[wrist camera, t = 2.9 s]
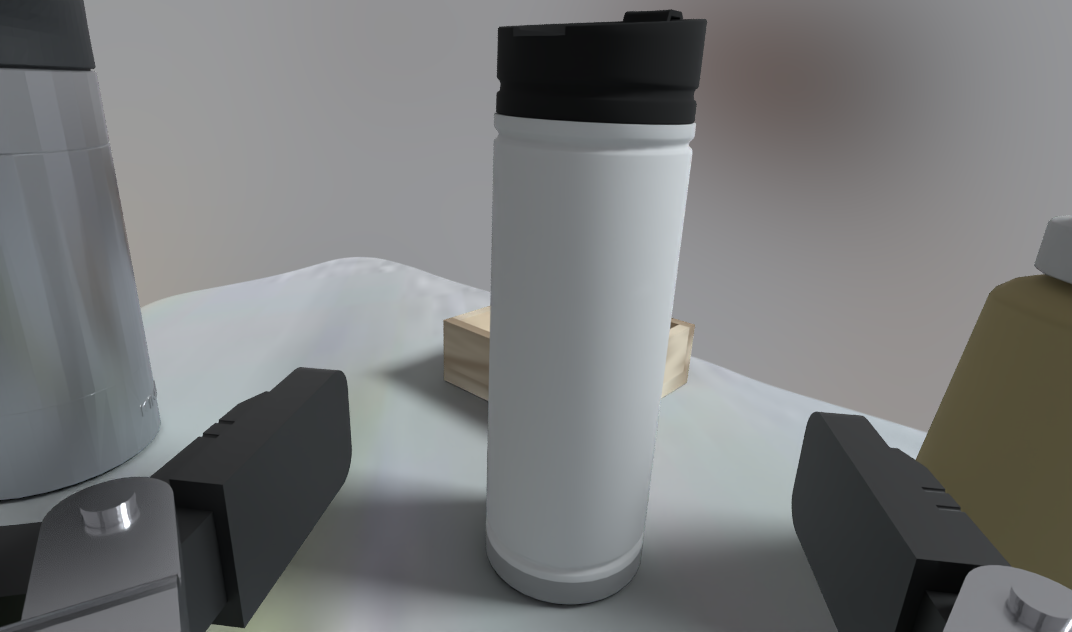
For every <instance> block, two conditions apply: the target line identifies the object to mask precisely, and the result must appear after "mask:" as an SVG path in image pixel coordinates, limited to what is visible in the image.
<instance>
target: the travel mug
mask: <svg viewBox="0 0 1072 632" xmlns="http://www.w3.org/2000/svg"><path fill="white" fill-rule="evenodd" d="M706 25H707V20H706V19H683V16H682V12H679V11H675V10H660V11H638V12H637V11H636V12H635V11H630V12H626V13H625V15H624V19H623V21H621V22H594V23H569V24H544V25H524V26H506V27H505V26H504V27H499V28H498V55H497V56H498V57H497V78H498V79H499V80H500V83H501V86H500V91H498V92H497V99H496V112H497V113H495V114H494V126H495V128H496V130H497V131H498V133H499V135H498V137H497V138H496V139H495V140H494V157H493V205H492V206H493V207H492V254H491V303H490V352H489V400H488V449H487V498H486V511H487V517H486V551H487V556H488V558H489V561H490V563H491V565H492V567H493V568H494V569H495V571H496V572H497V573H498V575H499V576H500V577H501V578H502V579H503V580H504V581H505V582H506V583H508V584H509V585H510V586H511V587H513V588H514V589H516V590H518V591H519V592H521V593H523V594H525V595H527V596H530V597H533V598H535V599H538V600H541V601H546V602H551V603H555V604H583V603H590V602H594V601H597V600H601V599H604V598H606V597H608V596H610V595H613V594H615V593H616V592H618V591H619V590H620V589H622V588H623V587H624V586H626V585H627V584H628V583H629V582H630V581H631V579H632V578H633V577H634V576H635V574H636V572H637V570H638V568H639V565H640V561H641V553H642V545H643V537H644V529H645V521H646V514H647V506H648V498H649V490H650V482H651V474H652V466H653V458H654V451H655V443H656V435H657V427H658V419H659V411H660V403H661V395H662V388H663V380H664V372H665V364H666V356H667V348H668V340H669V332H670V325H671V317H672V309H673V301H674V293H675V285H676V277H677V269H678V262H679V254H680V246H681V238H682V229H683V221H684V214H685V206H686V198H687V191H688V183H689V175H690V167H691V159H692V149H691V148H690V147H689V145H688V144H689V142H690V141H691V140H692V139H693V138H694V135H695V127H696V123H694V121H695V113H696V105H697V104H696V101H695V100H694V91H695V90H696V89H697V88H698V87H699V80H700V73H701V65H702V57H703V49H704V41H705V33H706Z"/></svg>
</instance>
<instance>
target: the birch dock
mask: <svg viewBox="0 0 1072 632" xmlns="http://www.w3.org/2000/svg"><path fill="white" fill-rule="evenodd" d="M694 328H695V325H694V324H690V323H687V322H684V321H680V320H677V319H673V318H671V325H670V332H669V340H668V348H667V356H666V364H665V372H664V380H663V388H662V395H661V399H662V398H663V397H665V396H666V395H668V394H670V393H671V392H673V391H674V390H676V389H677V388H679V387H681V386H682V385H684V384H685V383H687V378H688V371H689V364H690V357H691V349H692V342H693V334H694ZM489 352H490V306H488V307H484V308H481V309H478V310H475V311H471V312H468V313H465V314H462V315H458V316H455V317H452V318H449V319H446V320H444V380H445V381H447V382H450V383H452V384H454V385H456V386H458V387H460V388H462V389H464V390H466V391H468V392H470V393H472V394H474V395H476V396H478V397H480V398H482V399H485V400H487V401H488V400H489Z"/></svg>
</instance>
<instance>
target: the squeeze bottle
mask: <svg viewBox="0 0 1072 632" xmlns="http://www.w3.org/2000/svg"><path fill="white" fill-rule="evenodd" d="M1034 266H1035V267H1036V268H1037V269H1038V270H1040V271H1041V272H1043V273H1044V274H1043V275H1033V276H1025V277H1018V278H1015V279H1012V280H1010V281H1008V282H1005V283H1003V284H1001V285H998V286H996V287H995V288H994V289H993V290H992V291H991V292H990V293H989V296H988V298H987V300H986V303H985V305H984V307H983V309H982V311H981V314H980V316H979V318H978V320H977V323H976V325H975V327H974V329H973V332H972V334H971V336H970V338H969V341H968V343H967V345H966V347H965V350H964V352H963V355H962V357H961V359H960V361H959V363H958V366H957V368H956V370H955V372H954V375H953V377H952V379H951V382H950V384H949V386H948V388H947V391H946V393H945V395H944V397H943V399H942V402H941V404H940V406H939V409H938V411H937V413H936V415H935V418H934V420H933V422H932V424H931V427H930V429H929V431H928V433H927V436H926V438H925V440H924V442H923V445H922V447H921V449H920V451H919V454H918V456H917V458H916V461H918V462H919V463H921V464H922V465H924V466H925V467H927V468H928V470H929V471H930V472H931V473H932V474H933V475H934V477H935V478H936V479H937V480H938V481H939V482H940V484H941V485H942V486H943V487H944V488H945V493H948V494H950V495H951V496H952V498H953V499H954V500H955V501H956V502H957V503H958V505H959V506H960V507H961V512H965V513H966V514H967V515H968V516H969V517H970V519H971V520H972V521H973V522H974V523H975V524H976V526H977V527H978V528H979V529H980V530H981V531H982V533H983V534H984V535H985V536H986V537H987V538H988V540H989V541H990V542H991V543H992V544H993V545H994V547H995V548H996V549H997V550H998V551H999V552H1000V554H1001V555H1002V556H1003V557H1004V558H1005V559H1006V561H1007V562H1008V563H1009V564H1010V565H1011V566H1012V567H1014V568H1019V569H1023V570H1026V571H1029V572H1033V573H1036V574H1038V575H1041V576H1044V577H1046V578H1049V579H1051V580H1053V581H1055V582H1057V583H1059V584H1061V585H1063V586H1065V587H1067V588H1069V589H1071V590H1072V215H1070V216H1056V217H1054V218H1052V219H1051V220H1050V221H1049V222H1048V225H1047V228H1046V231H1045V234H1044V237H1043V240H1042V243H1041V246H1040V249H1039V252H1038V255H1037V258H1036V261H1035V264H1034Z"/></svg>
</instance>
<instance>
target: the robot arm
mask: <svg viewBox="0 0 1072 632" xmlns="http://www.w3.org/2000/svg"><path fill="white" fill-rule="evenodd" d="M94 68H95V62H94V57H93V52H92V47H91V42H90V36H89V31H88V25H87V19H86V13H85V7H84V1H83V0H0V500H4V499H13V498H21V497H26V496H31V495H36V494H41V493H46V492H50V491H53V490H57V489H60V488H63V487H67V486H70V485H74V484H77V483H79V482H82V481H84V480H87V479H90V478H92V477H95V476H97V475H100V474H102V473H104V472H106V471H108V470H110V469H112V468H114V467H116V466H118V465H120V464H122V463H124V462H125V461H127V460H128V459H130V458H132V457H133V456H135V455H136V454H138V453H139V452H140V451H141V450H143V449H144V448H145V447H146V446H147V445H148V444H149V443H151V441H152V440H153V439H154V437H155V436H156V435H157V433H158V431H159V428H160V424H161V420H160V415H159V409H158V403H157V392H156V386H155V381H154V380H153V376H152V370H151V365H150V359H149V354H148V348H147V342H146V337H145V331H144V326H143V321H142V315H141V310H140V305H139V299H138V294H137V288H136V283H135V277H134V272H133V266H132V261H131V256H130V250H129V245H128V239H127V234H126V229H125V223H124V218H123V212H122V207H121V201H120V197H119V191H118V186H117V180H116V174H115V169H114V164H113V158H112V153H111V147H110V143H108V142H109V137H108V131H107V126H106V120H105V115H104V110H103V104H102V99H101V94H100V88H99V82H98V77H97V73H96V72H95V71H91V70H90V69H94ZM351 455H352V445H351V430H350V415H349V401H348V386H347V380H346V377H345V375H344V373H343V372H342V371H339V370H327V369H315V368H304V367H299V368H297V369H295V370H294V371H293V372H292V373H291V374H289V375H288V376H287V377H286V378H285V379H284V380H283V381H281V382H280V383H279V384H278V385H277V386H276V387H275V388H273V389H272V390H271V391H270V392H267V391H266V392H263V393H261V394H259V395H257V396H255V397H252V398H250V399H248V400H246V401H244V402H241V403H239V404H238V405H236V406H235V407H234V408H233V409H232V410H230V411H229V412H228V413H227V414H226V415H224V416H223V417H222V418H221V419H219V423H215V424H213V425H212V426H211V427H210V428H209V429H207V430H206V431H205V432H204V433H203V436H202V437H198V438H197V439H195V440H194V441H193V442H192V443H191V444H189V445H188V446H187V447H186V448H184V449H183V450H182V451H181V452H180V453H178V454H177V455H176V456H175V457H174V458H172V459H171V460H170V461H169V462H168V463H166V464H165V465H164V466H163V467H162V468H160V469H159V470H158V471H157V472H155V473H154V474H153V475H152V476H151V477H129V478H121V479H115V480H111V481H107V482H103V483H100V484H97V485H94V486H91V487H88V488H86V489H83V490H81V491H79V492H77V493H75V494H73V495H71V496H69V497H68V498H66V499H64V500H63V501H61V502H60V503H59V504H57V505H56V506H55V507H54V508H53V509H52V510H51V511H50V512H49V513H48V514H47V515H46V516H45V518H44V519H43V521H42V522H38V523H28V524H19V525H9V526H0V632H206V630H207V629H208V628H209V626H210V625H211V624H216V625H224V626H232V627H240V628H245V627H246V625H247V624H248V622H249V621H250V619H251V618H252V616H253V615H254V613H255V612H256V611H257V609H258V608H259V606H260V605H261V603H262V602H263V600H264V599H265V597H266V596H267V595H268V593H269V592H270V590H271V589H272V587H273V586H274V584H275V583H276V581H277V580H278V578H279V577H280V576H281V574H282V573H283V571H284V570H285V568H286V567H287V565H288V564H289V562H290V561H291V560H292V558H293V557H294V555H295V554H296V552H297V551H298V549H299V548H300V546H301V545H302V544H303V542H304V541H305V539H306V538H307V536H308V535H309V533H310V532H311V530H312V529H313V528H314V526H315V525H316V523H317V522H318V520H319V519H320V517H321V516H322V514H323V513H324V511H325V510H326V509H327V507H328V506H329V504H330V503H331V501H332V500H333V498H334V497H335V495H336V494H337V493H338V491H339V490H340V488H341V487H342V485H343V484H344V482H345V480H346V477H347V475H348V472H349V468H350V463H351ZM792 518H793V524H794V528H795V531H796V534H797V536H798V538H799V541H800V543H801V545H802V548H803V550H804V552H805V555H806V557H807V559H808V562H809V564H810V566H811V569H812V571H813V573H814V576H815V578H816V580H817V583H818V585H819V587H820V590H821V592H822V594H823V597H824V599H825V601H826V604H827V606H828V608H829V611H830V613H831V615H832V618H833V620H834V622H835V625H836V627H837V629H838V632H1072V590H1071V589H1069V588H1067V587H1065V586H1063V585H1061V584H1059V583H1057V582H1055V581H1053V580H1051V579H1049V578H1046V577H1044V576H1041V575H1038V574H1036V573H1033V572H1029V571H1026V570H1023V569H1019V568H1014V567H1012V566H1011V565H1010V564H1009V563H1008V562H1007V561H1006V559H1005V558H1004V557H1003V556H1002V555H1001V554H1000V552H999V551H998V550H997V549H996V548H995V547H994V545H993V544H992V543H991V542H990V541H989V540H988V538H987V537H986V536H985V535H984V534H983V533H982V531H981V530H980V529H979V528H978V527H977V526H976V524H975V523H974V522H973V521H972V520H971V519H970V517H969V516H968V515H967V514H966V513H965V512H961V507H960V506H959V505H958V503H957V502H956V501H955V500H954V499H953V498H952V496H951V495H950V494H948V493H945V488H944V487H943V486H942V485H941V484H940V482H939V481H938V480H937V479H936V478H935V477H934V475H933V474H932V473H931V472H930V471H929V470H928V468H927V467H925V466H924V465H922V464H921V463H919V462H918V461H916V460H914V459H913V458H911V457H910V456H908V455H907V454H905V453H904V452H902V451H901V450H899V449H898V448H890V447H889V446H888V445H887V444H886V442H885V441H884V440H883V439H882V437H881V436H880V435H879V434H878V432H877V431H876V430H875V429H874V427H873V426H872V425H871V424H870V422H869V421H868V420H867V419H866V418H865V417H864V416H860V415H848V414H836V413H824V412H814V413H812V414H811V416H810V418H809V420H808V422H807V426H806V430H805V435H804V440H803V445H802V450H801V454H800V459H799V464H798V469H797V474H796V478H795V483H794V488H793V494H792Z"/></svg>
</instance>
